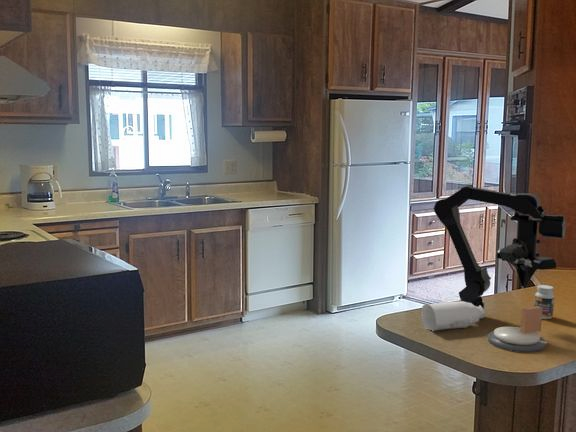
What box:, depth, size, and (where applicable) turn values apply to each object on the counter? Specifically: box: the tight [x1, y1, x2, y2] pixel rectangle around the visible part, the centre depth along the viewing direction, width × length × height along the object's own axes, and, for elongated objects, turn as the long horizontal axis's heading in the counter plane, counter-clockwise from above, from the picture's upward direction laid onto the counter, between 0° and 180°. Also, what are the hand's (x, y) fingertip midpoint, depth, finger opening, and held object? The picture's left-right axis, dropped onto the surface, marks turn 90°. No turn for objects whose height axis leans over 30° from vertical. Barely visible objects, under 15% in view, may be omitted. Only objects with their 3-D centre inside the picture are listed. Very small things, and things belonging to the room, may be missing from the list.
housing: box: [487, 331, 548, 353], centre depth 171 cm, size 15×15×1 cm
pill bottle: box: [533, 284, 555, 320], centre depth 195 cm, size 6×6×10 cm
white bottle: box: [420, 301, 486, 332], centre depth 184 cm, size 8×19×8 cm, turn 108°
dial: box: [493, 306, 543, 345], centre depth 171 cm, size 14×12×8 cm
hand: (523, 286), depth 186 cm, fingers closed
